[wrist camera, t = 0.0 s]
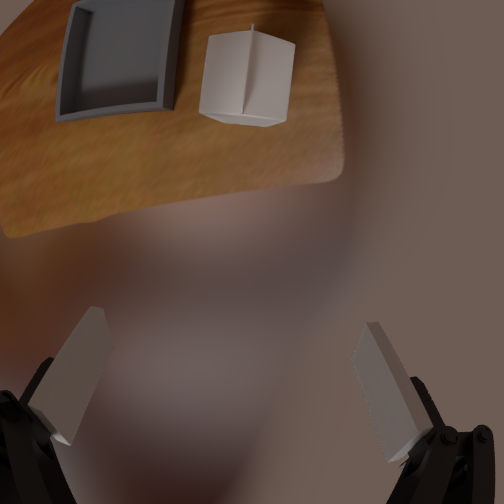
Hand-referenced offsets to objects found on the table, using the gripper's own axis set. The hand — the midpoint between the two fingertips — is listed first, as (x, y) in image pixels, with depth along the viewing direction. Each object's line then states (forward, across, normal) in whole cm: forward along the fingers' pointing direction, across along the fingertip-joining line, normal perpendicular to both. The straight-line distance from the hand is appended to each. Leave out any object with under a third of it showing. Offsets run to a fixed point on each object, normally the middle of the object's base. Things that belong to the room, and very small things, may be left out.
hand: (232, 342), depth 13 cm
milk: (+28, 0, +13) cm, 31 cm away
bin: (+28, -18, +22) cm, 40 cm away
